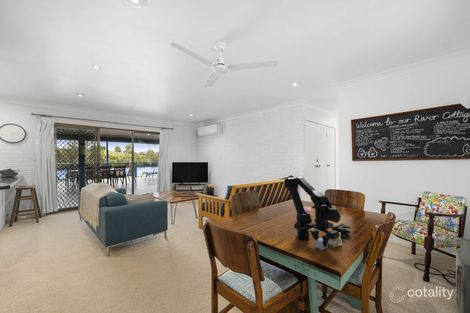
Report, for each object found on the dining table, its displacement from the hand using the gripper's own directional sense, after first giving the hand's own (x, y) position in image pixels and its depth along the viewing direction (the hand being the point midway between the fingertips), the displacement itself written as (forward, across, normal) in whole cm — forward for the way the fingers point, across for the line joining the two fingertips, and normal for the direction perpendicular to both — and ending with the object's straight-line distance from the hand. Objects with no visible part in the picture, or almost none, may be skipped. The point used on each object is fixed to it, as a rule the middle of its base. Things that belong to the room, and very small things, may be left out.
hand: (321, 245), depth 111 cm
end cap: (+2, +4, -25) cm, 26 cm away
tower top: (-2, -1, -10) cm, 10 cm away
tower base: (+2, -1, -10) cm, 10 cm away
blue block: (+1, 0, 0) cm, 1 cm away
